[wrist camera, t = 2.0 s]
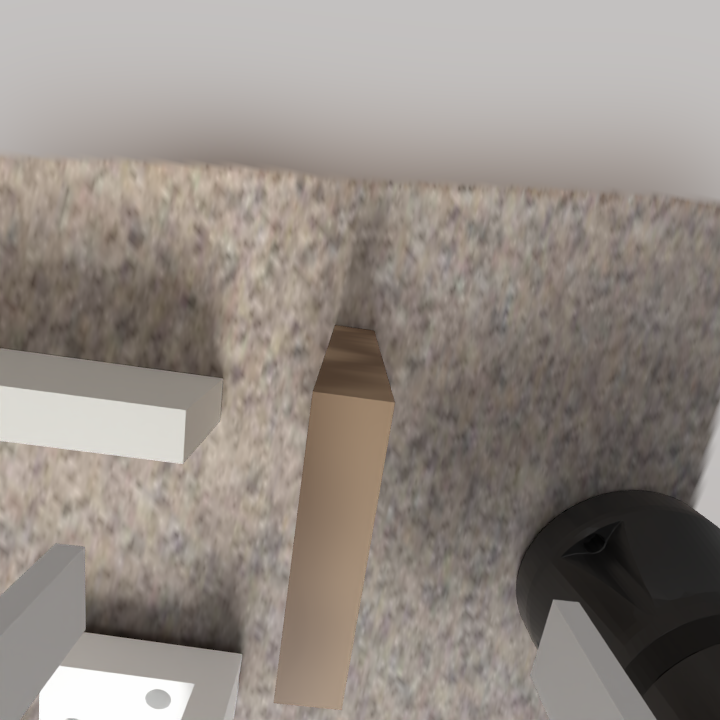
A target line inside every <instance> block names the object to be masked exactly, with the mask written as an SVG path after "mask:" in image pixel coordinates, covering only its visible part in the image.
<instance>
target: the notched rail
mask: <svg viewBox="0 0 720 720" xmlns="http://www.w3.org/2000/svg"><path fill="white" fill-rule="evenodd" d="M222 388H223V378H217V377H209V376H202V375H194V374H187V373H180V372H172V371H165V370H158V369H150V368H143V367H136V366H128V365H121V364H113V363H106V362H99V361H91V360H84V359H77V358H69V357H62V356H55V355H47V354H40V353H32V352H25V351H18V350H10V349H3V348H0V441H5V442H13V443H21V444H29V445H37V446H45V447H53V448H61V449H69V450H77V451H85V452H93V453H101V454H109V455H116V456H124V457H132V458H140V459H148V460H156V461H164V462H172V463H180V464H183V463H184V462H185V461H186V460H187V459H188V458H189V457H190V455H191V454H192V453H193V452H194V451H195V450H196V448H197V447H198V446H199V445H200V444H201V443H202V442H203V440H204V439H205V438H206V437H207V436H208V435H209V433H210V432H211V431H212V430H213V429H214V428H215V427H216V425H217V424H218V423H219V422H220V415H221V401H222Z"/></svg>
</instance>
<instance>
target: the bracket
mask: <svg viewBox="0 0 720 720" xmlns="http://www.w3.org/2000/svg"><path fill="white" fill-rule="evenodd" d="M241 661H242V654H238V653H231V652H224V651H217V650H209V649H202V648H195V647H188V646H181V645H173V644H166V643H159V642H152V641H144V640H137V639H130V638H123V637H115V636H108V635H101V634H94V633H86V632H83V634H82V635H81V637H80V638H79V639H78V641H77V642H76V643H75V645H74V646H73V648H72V649H71V650H70V652H69V653H68V654H67V656H66V657H65V658H64V660H63V661H62V663H61V664H60V665H59V667H58V668H57V669H56V671H55V672H54V674H53V675H52V676H51V678H50V679H49V680H48V682H47V683H46V685H45V686H44V687H43V689H42V690H41V691H40V696H39V720H233V719H234V714H235V708H236V701H237V694H238V688H239V682H238V681H239V674H240V667H241Z"/></svg>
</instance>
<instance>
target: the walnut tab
mask: <svg viewBox="0 0 720 720" xmlns="http://www.w3.org/2000/svg"><path fill="white" fill-rule="evenodd" d="M394 406H395V401H394V398H393V394H392V391H391V387H390V384H389V380H388V377H387V373H386V370H385V366H384V363H383V360H382V356H381V353H380V349H379V346H378V342H377V339H376V335H375V332H374V331H373V330H366V329H359V328H352V327H345V326H338V325H335V327H334V330H333V333H332V336H331V339H330V342H329V345H328V348H327V351H326V354H325V357H324V360H323V363H322V366H321V369H320V372H319V375H318V378H317V381H316V383H315V386H314V389H313V394H312V402H311V410H310V418H309V426H308V434H307V442H306V449H305V457H304V465H303V473H302V481H301V489H300V497H299V505H298V513H297V521H296V529H295V537H294V545H293V553H292V561H291V569H290V577H289V585H288V593H287V601H286V609H285V617H284V625H283V632H282V640H281V648H280V656H279V664H278V672H277V680H276V688H275V696H274V703H277V704H287V705H297V706H307V707H317V708H326V709H336V710H342V705H343V699H344V693H345V687H346V682H347V676H348V670H349V664H350V659H351V653H352V647H353V641H354V636H355V630H356V624H357V618H358V613H359V607H360V601H361V595H362V590H363V584H364V578H365V572H366V567H367V561H368V555H369V549H370V544H371V538H372V532H373V526H374V521H375V515H376V509H377V503H378V498H379V492H380V486H381V480H382V475H383V469H384V463H385V457H386V452H387V446H388V440H389V434H390V429H391V423H392V417H393V411H394Z"/></svg>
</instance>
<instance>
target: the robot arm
mask: <svg viewBox="0 0 720 720" xmlns="http://www.w3.org/2000/svg"><path fill="white" fill-rule="evenodd" d="M516 596H517V604H518V608H519V612H520V615H521V617H522V620H523V622H524V624H525V626H526V628H527V630H528V632H529V634H530V637H531V639H532V641H533V643H534V645H535V646H536V648H537V650H538V651H537V654H536V657H535V661H534V664H533V667H532V671H531V674H530V676H531V678H532V681H533V683H534V685H535V688H536V690H537V692H538V695H539V697H540V699H541V702H542V704H543V706H544V709H545V711H546V713H547V716H548V718H549V720H720V529H719V528H718V527H717V526H716V525H714V524H713V523H712V522H710V521H709V520H708V519H706V518H705V517H704V516H702V515H701V514H699V513H698V512H697V511H695V510H694V509H693V508H691V507H690V506H688V505H687V504H685V503H683V502H681V501H679V500H677V499H675V498H672V497H670V496H667V495H663V494H659V493H655V492H649V491H620V492H614V493H608V494H604V495H600V496H597V497H594V498H591V499H588V500H586V501H584V502H581V503H579V504H577V505H575V506H573V507H572V508H570V509H568V510H567V511H565V512H563V513H562V514H561V515H559V516H558V517H556V518H555V519H554V520H553V521H552V522H550V523H549V524H548V525H547V526H546V527H545V528H544V529H543V530H542V531H541V532H540V533H539V535H538V536H537V537H536V538H535V540H534V541H533V543H532V544H531V545H530V547H529V549H528V550H527V552H526V554H525V556H524V558H523V561H522V563H521V566H520V569H519V573H518V578H517V587H516ZM85 630H86V604H85V547H83V546H75V545H66V544H57V543H56V544H55V545H54V546H53V547H52V548H50V549H49V550H48V551H47V552H46V553H45V554H44V555H43V556H42V557H41V558H40V559H39V560H38V561H37V562H36V563H35V564H34V565H32V566H31V567H30V568H29V569H28V570H27V571H26V572H25V573H24V574H23V575H22V576H21V577H20V578H19V579H18V580H17V581H16V582H14V583H13V584H12V585H11V586H10V587H9V588H8V589H7V590H6V591H5V592H4V593H3V594H2V595H1V596H0V720H20V719H21V717H22V716H23V715H24V713H25V712H26V711H27V709H28V708H29V706H30V705H31V704H32V702H33V701H34V700H35V698H36V697H37V695H38V694H39V693H40V691H41V690H42V689H43V687H44V686H45V685H46V683H47V682H48V680H49V679H50V678H51V676H52V675H53V674H54V672H55V671H56V669H57V668H58V667H59V665H60V664H61V663H62V661H63V660H64V658H65V657H66V656H67V654H68V653H69V652H70V650H71V649H72V648H73V646H74V645H75V643H76V642H77V641H78V639H79V638H80V637H81V635H82V634H83V632H84V631H85Z"/></svg>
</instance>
